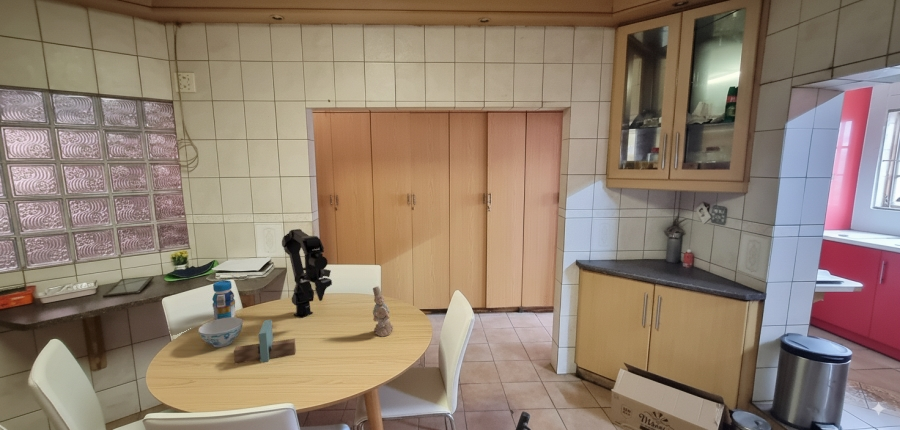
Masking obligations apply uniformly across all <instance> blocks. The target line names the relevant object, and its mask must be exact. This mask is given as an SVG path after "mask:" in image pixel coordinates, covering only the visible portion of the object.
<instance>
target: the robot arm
mask: <svg viewBox="0 0 900 430" xmlns="http://www.w3.org/2000/svg"><path fill="white" fill-rule="evenodd" d="M281 247H283V250H284V252H285V253H286V254H287V255H288V256H289V259H290V264H291V268H292V273H293V278H294V282H295V285H294V288H293V294H292V296H291V303H292V305H294V306H295V310H296V312H294V313H293V316H296V317H297V318H298V317H299V318H301V319H302V318H303V319H304V318H305V317H308V316H310V315H312V314H314V312H313V311H311V305H310V304H311V302H314V296H315V292H316V295H317V298H318V300H319V301H320V302H321V301H323V298H324V295H325V291H326V290H327V288H329V287H330V286H332V285H333V281H332V279H331V278H330V277H331V270H330V269H326V267H327V266H328V263H329V262H328V258H326V257H325V256H323V255H324V254H323V253H324V252H325V251H324V249H325V247H324V245H323V243H322V241H321V239H320V237H318V235H317V236H316V235H309V234H307V233H306V232H304V231H302V229H300V228H298V229H291V230H289V232H288V233H287V234H286V235H284V236H283V237H282V239H281ZM301 250H302V251H303V254H304V267H303V261H302V258H301V253H300V251H301ZM311 283H314V285H315V287H314V289H315V291H314V289H313V287H312V284H311Z"/></svg>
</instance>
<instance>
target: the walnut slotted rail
mask: <svg viewBox="0 0 900 430" xmlns="http://www.w3.org/2000/svg"><path fill="white" fill-rule="evenodd" d="M296 352H297V351H296V339H295V338H290V339H282V340H281V339H280V340H273V342H272V345H271V348H270V349H269V359H274V358H279V357H281V358H282V357H287V356H288V357H289V356H294V355H296ZM233 358H234V364H241V363H249V362H255V361H261V357H260V344H259V343H253V344H252V343H251V344H245V345H239V346H235V348H234V349H233Z"/></svg>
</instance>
